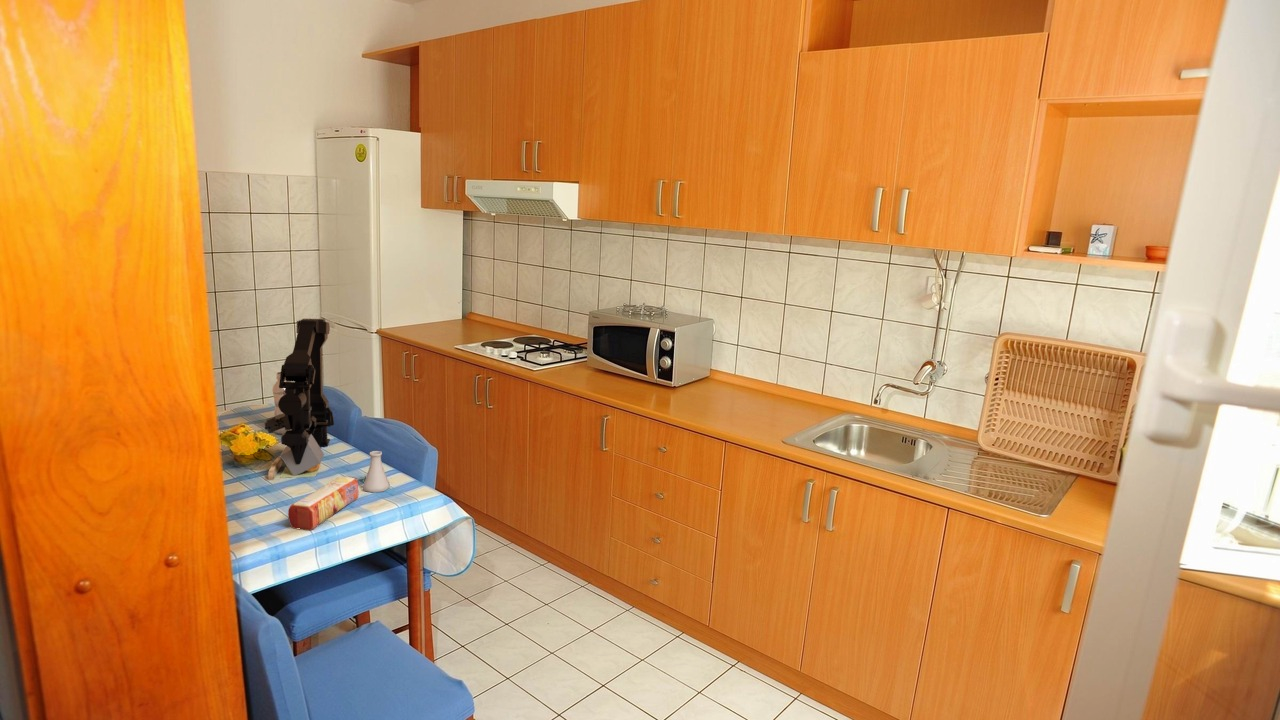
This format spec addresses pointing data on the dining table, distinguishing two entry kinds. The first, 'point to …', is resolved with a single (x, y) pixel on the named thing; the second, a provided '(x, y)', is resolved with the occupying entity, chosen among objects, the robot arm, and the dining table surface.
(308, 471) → the ball
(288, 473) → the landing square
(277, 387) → the plastic bottle
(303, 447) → the robot arm
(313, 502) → the snack package
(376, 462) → the flask
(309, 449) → the smooth grey cube
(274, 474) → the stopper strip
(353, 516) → the dining table surface
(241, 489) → the dining table surface
